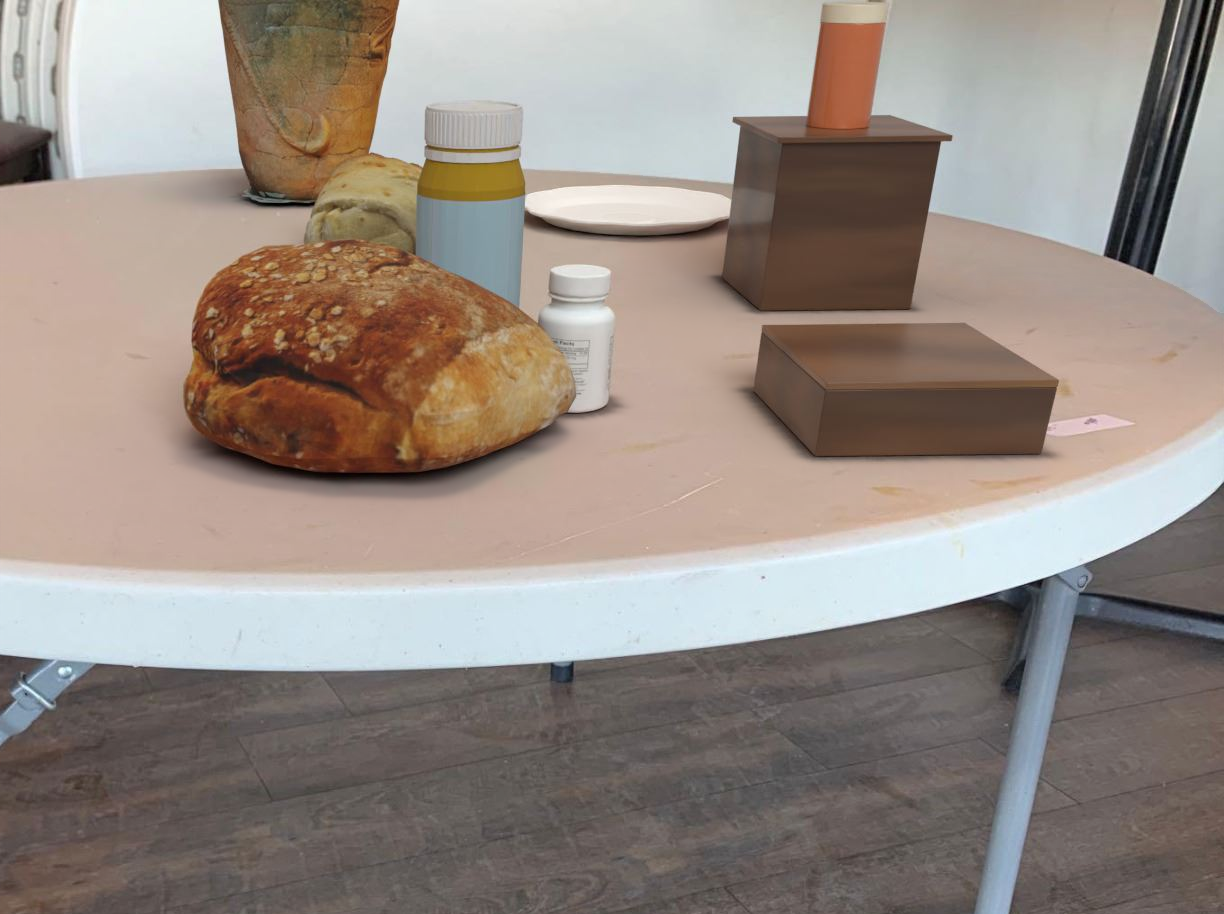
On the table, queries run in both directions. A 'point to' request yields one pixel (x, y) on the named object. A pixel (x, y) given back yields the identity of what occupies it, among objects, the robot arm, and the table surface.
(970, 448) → the wooden lidded box
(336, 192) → the pastry
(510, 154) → the bottle
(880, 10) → the spice jar
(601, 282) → the pill bottle
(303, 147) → the vase
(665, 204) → the plate
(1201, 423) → the table surface
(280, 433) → the bread
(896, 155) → the wooden cabinet block
